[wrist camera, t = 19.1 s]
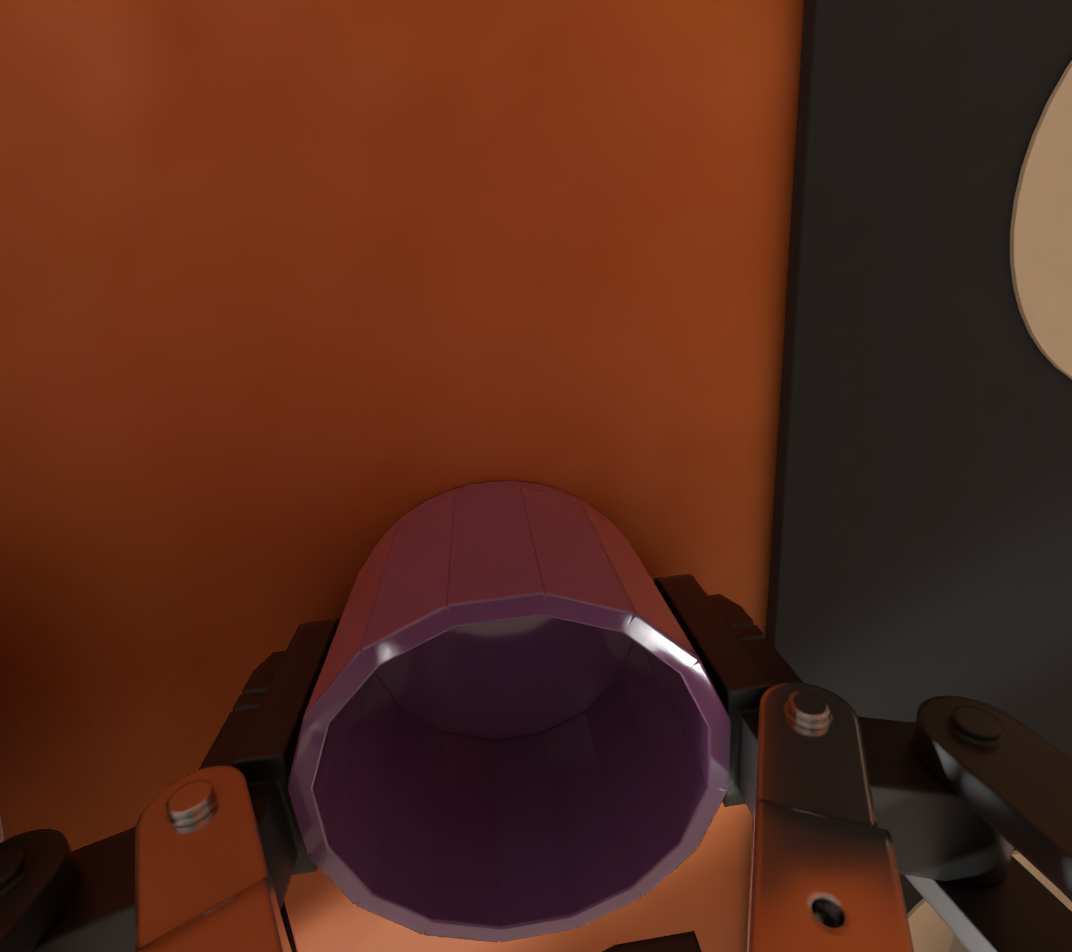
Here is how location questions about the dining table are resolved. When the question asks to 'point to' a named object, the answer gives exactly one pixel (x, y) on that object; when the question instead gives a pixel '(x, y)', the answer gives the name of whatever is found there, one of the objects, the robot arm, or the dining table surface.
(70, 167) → the dining table surface
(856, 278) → the placemat
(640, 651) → the purple cup
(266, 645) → the dining table surface
